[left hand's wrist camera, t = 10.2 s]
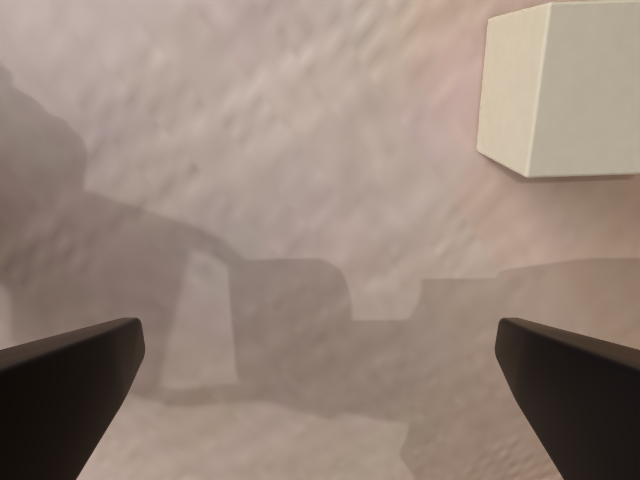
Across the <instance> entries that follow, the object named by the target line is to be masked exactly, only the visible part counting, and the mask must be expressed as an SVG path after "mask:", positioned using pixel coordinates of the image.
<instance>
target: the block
mask: <svg viewBox="0 0 640 480" xmlns="http://www.w3.org/2000/svg"><path fill="white" fill-rule="evenodd" d="M476 150H477V152H479V153H481V154H483V155H484V156H486V157H488V158H490V159H492V160H494V161H496V162H498V163H500V164H501V165H503V166H505V167H507V168H509V169H511V170H513V171H515V172H516V173H518V174H520V175H522V176H524V177H526V178H543V177H572V176H600V175H629V174H640V0H598V1H569V2H550V3H546V4H542V5H538V6H534V7H530V8H527V9H523V10H519V11H515V12H511V13H508V14H504V15H500V16H496V17H492V18H490V19H489V20H488V26H487V37H486V48H485V59H484V70H483V81H482V92H481V103H480V114H479V125H478V136H477V147H476Z"/></svg>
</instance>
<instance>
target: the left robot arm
mask: <svg viewBox="0 0 640 480" xmlns="http://www.w3.org/2000/svg"><path fill="white" fill-rule="evenodd" d="M144 354H145V343H144V337H143V330H142V324H141V321H140V320H139V319H138V318H121V319H117V320H113V321H109V322H105V323H101V324H98V325H94V326H90V327H86V328H82V329H79V330H75V331H71V332H67V333H63V334H60V335H56V336H52V337H48V338H44V339H41V340H37V341H33V342H29V343H25V344H22V345H18V346H14V347H10V348H6V349H2V350H0V480H76V479H77V477H78V476H79V474H80V472H81V471H82V469H83V467H84V466H85V464H86V462H87V461H88V459H89V458H90V456H91V454H92V453H93V451H94V449H95V448H96V446H97V444H98V443H99V441H100V440H101V438H102V436H103V435H104V433H105V431H106V430H107V428H108V426H109V425H110V423H111V421H112V420H113V418H114V417H115V415H116V413H117V412H118V410H119V408H120V407H121V405H122V403H123V401H124V400H125V398H126V396H127V394H128V391H129V389H130V387H131V385H132V383H133V380H134V378H135V376H136V374H137V371H138V369H139V367H140V365H141V362H142V360H143V358H144ZM495 354H496V358H497V360H498V362H499V365H500V367H501V369H502V371H503V374H504V376H505V378H506V380H507V382H508V385H509V387H510V389H511V391H512V394H513V396H514V398H515V400H516V401H517V403H518V405H519V407H520V408H521V410H522V412H523V413H524V415H525V417H526V418H527V420H528V421H529V423H530V425H531V426H532V428H533V430H534V431H535V433H536V435H537V436H538V438H539V439H540V441H541V443H542V444H543V446H544V448H545V449H546V451H547V453H548V454H549V456H550V457H551V459H552V461H553V462H554V464H555V466H556V467H557V469H558V471H559V472H560V474H561V476H562V477H563V479H564V480H640V350H638V349H634V348H630V347H626V346H622V345H619V344H615V343H611V342H607V341H603V340H599V339H596V338H592V337H588V336H584V335H580V334H577V333H573V332H569V331H565V330H561V329H558V328H554V327H550V326H546V325H542V324H539V323H535V322H531V321H527V320H523V319H519V318H502V319H501V320H500V321H499V324H498V331H497V337H496V343H495Z"/></svg>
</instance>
